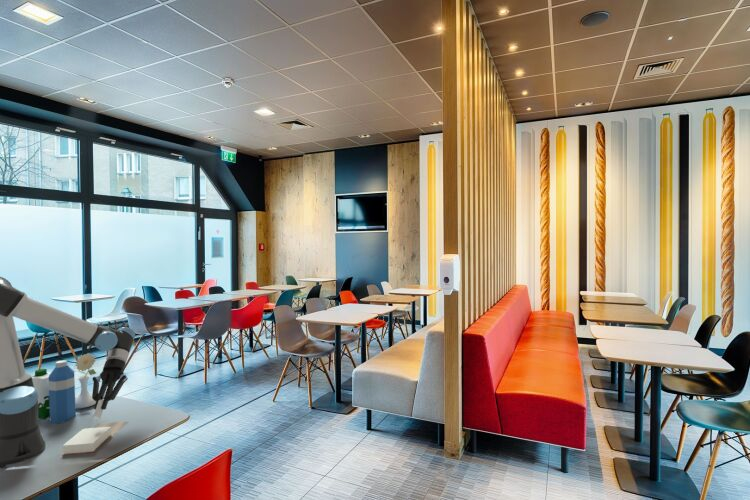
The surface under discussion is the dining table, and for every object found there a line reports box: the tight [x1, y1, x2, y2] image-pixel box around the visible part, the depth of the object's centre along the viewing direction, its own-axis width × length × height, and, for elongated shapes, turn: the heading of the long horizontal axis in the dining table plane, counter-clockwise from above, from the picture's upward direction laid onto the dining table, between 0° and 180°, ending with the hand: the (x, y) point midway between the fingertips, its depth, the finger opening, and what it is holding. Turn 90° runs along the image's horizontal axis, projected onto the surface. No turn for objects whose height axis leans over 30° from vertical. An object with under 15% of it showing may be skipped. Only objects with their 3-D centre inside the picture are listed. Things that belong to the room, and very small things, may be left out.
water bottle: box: [49, 359, 77, 424], centre depth 174 cm, size 9×9×25 cm
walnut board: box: [58, 421, 129, 456], centre depth 156 cm, size 12×25×1 cm, turn 7°
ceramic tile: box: [62, 427, 111, 455], centre depth 150 cm, size 3×10×13 cm
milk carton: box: [31, 368, 52, 420], centre depth 178 cm, size 9×9×20 cm
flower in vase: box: [75, 353, 97, 410], centre depth 187 cm, size 13×11×25 cm
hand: (96, 417), depth 155 cm, fingers closed
